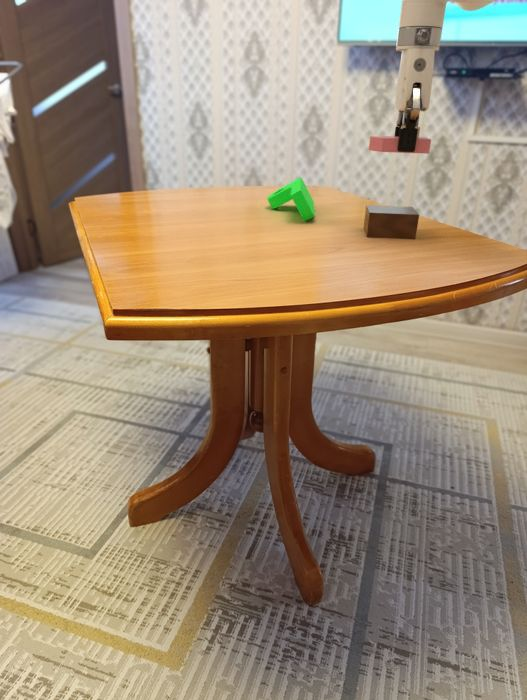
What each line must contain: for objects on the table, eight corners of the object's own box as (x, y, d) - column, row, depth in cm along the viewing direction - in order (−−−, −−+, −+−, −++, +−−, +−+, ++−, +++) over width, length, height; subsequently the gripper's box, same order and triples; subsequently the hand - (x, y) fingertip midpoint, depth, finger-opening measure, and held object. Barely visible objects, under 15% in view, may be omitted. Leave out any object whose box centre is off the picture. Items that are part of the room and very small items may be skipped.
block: (409, 229, 112) (412, 206, 110) (415, 239, 105) (419, 214, 103) (363, 227, 113) (366, 204, 111) (366, 236, 106) (369, 212, 104)
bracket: (280, 220, 135) (267, 195, 132) (314, 202, 132) (301, 176, 129) (277, 239, 117) (261, 210, 114) (315, 218, 114) (300, 189, 111)
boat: (423, 150, 101) (427, 126, 99) (429, 153, 97) (433, 127, 94) (367, 149, 102) (370, 124, 100) (369, 151, 97) (372, 126, 95)
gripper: (451, 37, 83) (432, 155, 91) (430, 45, 98) (415, 146, 106) (404, 36, 83) (389, 154, 92) (390, 44, 98) (378, 145, 107)
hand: (403, 149), depth 99 cm, fingers closed on boat, 5 cm apart
